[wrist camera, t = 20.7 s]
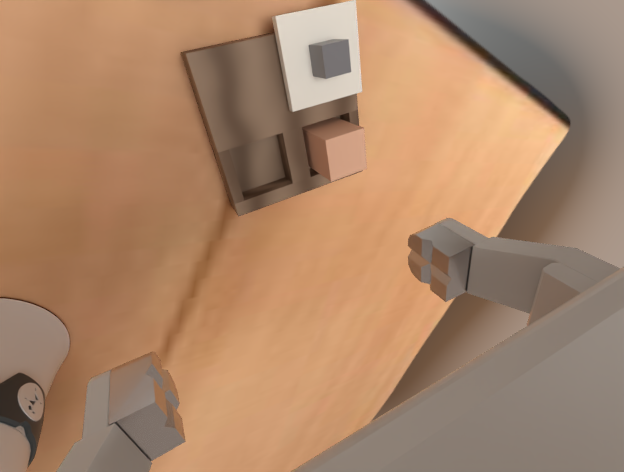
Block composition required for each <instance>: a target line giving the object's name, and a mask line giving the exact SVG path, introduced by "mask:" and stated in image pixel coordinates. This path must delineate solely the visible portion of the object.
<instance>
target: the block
mask: <svg viewBox="0 0 624 472" xmlns="http://www.w3.org/2000/svg"><path fill="white" fill-rule="evenodd" d="M302 130H303V136H304V142H305V148H306V153H307V159H308V165H309V167H311V168H312V169H313V170H315V171H316V172H318V173H319V174H321V175H322V176H324V177H325V178H326V179H328V180H329V181H331V182H332V181H335V180H337V179H340V178H343V177H345V176H348V175H351V174H354V173H356V172H359V171H362V170H365V169H367V162H366V148H365V134H364V128H363V127H360V126H358V125H355V124H352V123H350V122H347V121H344V120H342V119H339V118H336V117H333V118H330V119H326V120H323V121H320V122H316V123H313V124H310V125H307V126H303V127H302Z"/></svg>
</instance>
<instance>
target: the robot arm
mask: <svg viewBox="0 0 624 472" xmlns="http://www.w3.org/2000/svg"><path fill="white" fill-rule="evenodd" d="M408 246H409V247H410V248H411V249H412V250H411V252H410V254H409V256H408V265H409V267H410V270H411V272H412V273H413V275H414V276H415V277H416V278H417V279H418V280H419V281H420V282H423V283H428V284H430V289H431V291H433V292H434V293H435V294H436V295H438V296H439V297H440V298H441V299H443V300H444V301H445V302H446V301H448V300H451V299H453V298H455V297H457V296H458V295H460V294H462V293H465V292H467V293H469V294H472V295H475V296H478V297H481V298H484V299H487V300H490V301H494V302H497V303H499V304H503V305H506V306H508V307H511V308H515V309H517V310H520V311H524V312H526V313H530V315H529V319H528V323H527V327H525V328H523V329H522V330H520V331H519V332H517V333H515V334H514V335H512V336H510V337H509V338H507V339H506V340H504V341H502V342H501V343H499V344H497V345H496V346H494V347H492V348H491V349H490V350H488V351H486V352H484V353H483V354H481V355H479V356H478V357H476V358H475V359H473V360H471V361H470V362H468V363H467V364H465V365H463V366H462V367H460V368H458V369H457V370H455V371H453V372H452V373H450V374H449V375H447V376H445V377H444V378H442V379H441V380H439V381H437V382H435V383H434V384H432V385H431V386H429V387H427V388H426V389H424V390H422V391H421V392H419V393H418V394H416V395H415V396H413V397H411V398H410V399H408V400H406V401H405V402H403V403H402V404H400V405H398V406H397V407H395V408H393V409H392V410H390V411H388V412H387V413H385V414H384V415H382V416H380V417H379V418H377V419H376V420H374V421H372V422H371V423H369V424H367V425H366V426H364V427H362V428H361V429H359V430H358V431H356V432H354V433H353V434H351V435H349V436H348V437H346V438H345V439H343V440H341V441H340V442H338V443H336V444H335V445H333V446H332V447H330V448H328V449H327V450H325V451H323V452H322V453H320V454H319V455H317V456H315V457H314V458H312V459H310V460H309V461H307V462H306V463H304V464H302V465H301V466H299V467H297V468H296V469H294V470H293V471H291V472H624V267H623V268H621V269H620V268H618V267H616V266H614V265H612V264H609V263H607V262H605V261H603V260H601V259H599V258H596V257H594V256H592V255H590V254H588V253H586V252H584V251H581V250H579V249H577V248H571V247H564V246H556V245H549V244H541V243H534V242H527V241H520V240H512V239H504V238H497V237H491V238H487V237H485V236H483V235H482V234H480V233H478V232H476V231H474V230H472V229H471V228H469V227H467V226H465V225H463V224H461V223H460V222H458V221H456V220H454V219H452V218H446V219H444V220H442V221H439V222H437V223H435V224H434V225H431V226H429V227H427V228H425V229H423V230H420V231H418V232H416V233H414V234H412V235H410V237H409V239H408ZM69 347H70V338H69V334H68V331H67V329H66V327H65V326H64V324H63V323H62V322H61V321H60V320H59V319H58V318H57V317H56V316H55V315H53V314H52V313H50V312H49V311H47V310H45V309H43V308H41V307H39V306H36V305H34V304H31V303H27V302H23V301H19V300H13V299H4V298H0V472H27V468H28V466H29V465H30V464H31V462H32V460H33V459H34V456H35V454H36V450H37V446H38V442H39V438H40V434H41V429H42V424H43V418H44V409H45V399H46V397H47V394H48V392H49V390H50V387H51V384H52V382H53V380H54V378H55V376H56V374H57V372H58V370H59V368H60V366H61V365H62V363H63V361H64V360H65V358H66V356H67V354H68V351H69ZM178 406H179V397H178V392H177V389H176V386H175V383H174V381H173V379H172V377H171V375H170V373H169V372H168V370H165V369H162V366H161V360H160V358H159V357H158V355H157V354H156V353H155V352H150V353H148V354H145V355H143V356H141V357H138V358H136V359H134V360H131V361H129V362H127V363H124V364H122V365H120V366H117V367H115V368H112V369H111V370H109V371H107V372H104V373H102V374H99V375H97V376H95V377H92V378H91V379H90V381H89V382H88V385H87V394H86V404H85V414H84V424H83V433H82V439H81V440H79V441H77V442H75V443H74V445H73V447H72V448H71V450H70V451H69V453H68V454H67V456H66V457H65V459H64V460H63V462H62V463H61V465H60V466H59V468H58V469H57V471H56V472H149V470H150V467H151V464H152V462H151V461H152V460H154V459H156V458H157V457H159V456H161V455H163V454H165V453H166V452H168V451H170V450H172V449H173V448H175V447H177V446H179V445H180V444H182V443H184V442H185V435H184V429H183V422H182V418H181V416H180V415H179V413H178V412H177V408H178Z"/></svg>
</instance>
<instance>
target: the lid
mask: <svg viewBox="0 0 624 472" xmlns="http://www.w3.org/2000/svg"><path fill="white" fill-rule="evenodd" d="M272 20H273V26H274V31H275V36H276V42H277V47H278V52H279V57H280V63H281V68H282V73H283V79H284V84H285V89H286V94H287V100H288V105H289V110H290V111H292V112H294V111H298V110H301V109H305V108H308V107H312V106H315V105H318V104H322V103H325V102H329V101H332V100H336V99H339V98H343V97H346V96H349V95H353V94H356V93H360V92H362V82H361V68H360V54H359V40H358V26H357V12H356V0H353V1H347V2H342V3H337V4H332V5H327V6H322V7H317V8H312V9H307V10H302V11H297V12H292V13H287V14H282V15H277V16H272Z"/></svg>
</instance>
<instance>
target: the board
mask: <svg viewBox="0 0 624 472" xmlns="http://www.w3.org/2000/svg"><path fill="white" fill-rule="evenodd" d="M181 55H182V58H183V61H184V64H185V67H186V70H187V73H188V76H189V79H190V82H191V85H192V88H193V91H194V94H195V97H196V100H197V103H198V106H199V109H200V112H201V115H202V118H203V121H204V124H205V127H206V130H207V133H208V136H209V139H210V142H211V145H212V148H213V151H214V154H215V157H216V160H217V163H218V166H219V169H220V172H221V175H222V178H223V181H224V184H225V187H226V190H227V193H228V196H229V199H230V202H231V205H232V207H233V209H234V210H235V212H236V213H237V215H238V216H241V215H244V214H247V213H250V212H252V211H255V210H258V209H260V208H263V207H266V206H269V205H271V204H274V203H277V202H280V201H282V200H285V199H288V198H290V197H293V196H296V195H299V194H301V193H304V192H307V191H309V190H312V189H315V188H318V187H320V186H323V185H326V184H329V183H331V181H329V180H328V179H326V178H325V177H324V176H322V175H321V174H319V173H318V172H316V171H315V170H313V169H312V168H311V167H309V165H308V159H307V153H306V148H305V142H304V136H303V130H302V127H303V126H307V125H310V124H313V123H316V122H320V121H323V120H326V119H330V118H333V117H336V118H339V119H342V120H344V121H347V122H350V123H352V124H355V125H358V126H359V118H358V106H357V93H356V94H353V95H349V96H346V97H343V98H339V99H336V100H332V101H329V102H325V103H322V104H318V105H315V106H312V107H308V108H305V109H301V110H298V111H294V112H292V111H290V110H289V105H288V100H287V94H286V89H285V84H284V79H283V73H282V68H281V63H280V57H279V52H278V47H277V42H276V36H275V32H273V33H269V34H264V35H259V36H255V37H250V38H245V39H241V40H236V41H231V42H227V43H222V44H217V45H213V46H208V47H203V48H199V49H194V50H189V51H185V52H181ZM362 171H363V170H362ZM359 172H361V171H359ZM356 173H358V172H356ZM356 173H354V174H356ZM351 175H353V174H351ZM348 176H350V175H348ZM348 176H345V177H348ZM345 177H343V178H345ZM340 179H342V178H340ZM337 180H339V179H337ZM337 180H335V181H337ZM332 182H334V181H332Z"/></svg>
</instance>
